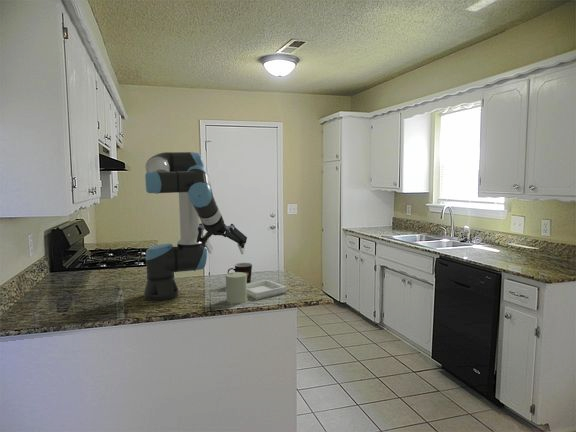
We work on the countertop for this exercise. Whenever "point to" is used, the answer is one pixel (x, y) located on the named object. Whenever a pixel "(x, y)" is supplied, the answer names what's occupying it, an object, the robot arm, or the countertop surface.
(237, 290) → the can
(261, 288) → the bin
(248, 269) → the coffee mug
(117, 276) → the countertop surface
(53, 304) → the countertop surface
